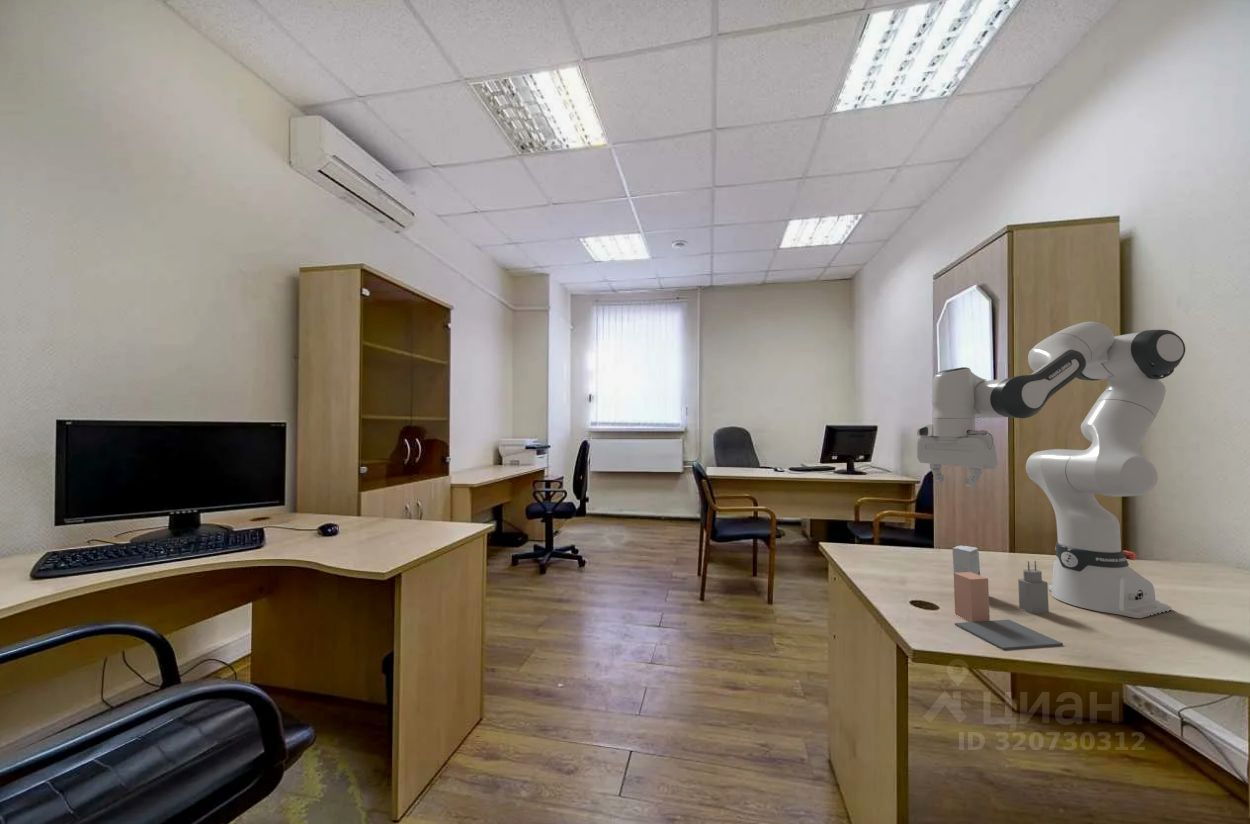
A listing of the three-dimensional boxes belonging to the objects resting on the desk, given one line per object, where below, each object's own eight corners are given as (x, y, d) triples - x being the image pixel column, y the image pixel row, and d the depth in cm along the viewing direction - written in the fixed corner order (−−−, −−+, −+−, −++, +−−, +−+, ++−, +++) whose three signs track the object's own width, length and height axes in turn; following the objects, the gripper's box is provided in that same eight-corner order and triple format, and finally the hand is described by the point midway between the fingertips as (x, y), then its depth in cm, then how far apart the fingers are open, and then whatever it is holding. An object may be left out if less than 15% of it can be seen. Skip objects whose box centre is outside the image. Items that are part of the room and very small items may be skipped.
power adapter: (1017, 608, 106) (1015, 559, 107) (1037, 607, 107) (1035, 558, 107) (1030, 613, 103) (1028, 563, 103) (1050, 612, 104) (1048, 562, 104)
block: (971, 613, 103) (970, 571, 103) (989, 622, 99) (988, 578, 99) (955, 614, 103) (953, 572, 103) (972, 623, 98) (970, 579, 99)
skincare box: (973, 598, 112) (971, 551, 113) (953, 592, 116) (951, 547, 117) (982, 592, 116) (980, 548, 116) (962, 587, 120) (960, 544, 120)
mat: (1009, 621, 99) (1009, 619, 99) (1062, 645, 88) (1062, 643, 88) (954, 624, 97) (954, 623, 97) (1002, 649, 86) (1002, 647, 86)
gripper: (1004, 430, 100) (1005, 489, 100) (932, 429, 121) (933, 478, 120) (980, 430, 100) (981, 489, 99) (911, 429, 120) (912, 479, 119)
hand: (954, 483), depth 110 cm, fingers open, 8 cm apart
